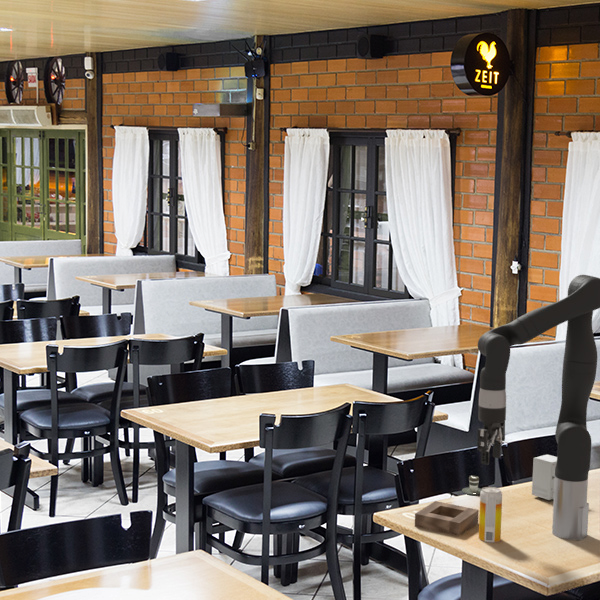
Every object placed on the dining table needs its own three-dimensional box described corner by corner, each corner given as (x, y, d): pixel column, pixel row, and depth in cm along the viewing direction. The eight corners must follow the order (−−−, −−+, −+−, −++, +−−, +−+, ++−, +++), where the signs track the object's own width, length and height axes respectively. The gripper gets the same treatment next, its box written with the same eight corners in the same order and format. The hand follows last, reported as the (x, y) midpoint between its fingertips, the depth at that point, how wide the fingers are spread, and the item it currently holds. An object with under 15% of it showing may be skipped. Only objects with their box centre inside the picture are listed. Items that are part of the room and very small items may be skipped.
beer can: (499, 537, 277) (501, 486, 275) (501, 545, 271) (503, 493, 269) (477, 536, 277) (479, 485, 276) (479, 544, 271) (481, 492, 270)
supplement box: (549, 500, 311) (551, 462, 309) (531, 494, 316) (532, 457, 315) (563, 496, 315) (565, 458, 314) (544, 490, 321) (546, 453, 319)
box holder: (478, 524, 288) (478, 509, 287) (459, 538, 276) (459, 523, 275) (434, 515, 295) (435, 501, 295) (414, 528, 283) (415, 513, 283)
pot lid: (482, 499, 312) (482, 484, 311) (448, 492, 319) (449, 477, 319) (498, 490, 322) (498, 475, 321) (465, 483, 329) (466, 469, 328)
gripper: (495, 410, 262) (493, 469, 264) (514, 401, 274) (513, 457, 276) (469, 407, 266) (468, 464, 268) (489, 398, 278) (488, 453, 280)
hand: (490, 460), depth 272 cm, fingers open, 8 cm apart
